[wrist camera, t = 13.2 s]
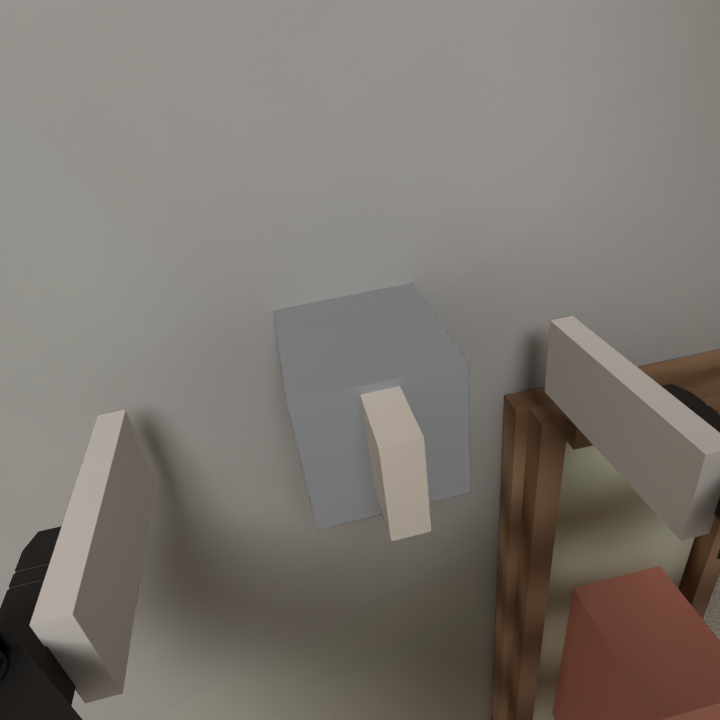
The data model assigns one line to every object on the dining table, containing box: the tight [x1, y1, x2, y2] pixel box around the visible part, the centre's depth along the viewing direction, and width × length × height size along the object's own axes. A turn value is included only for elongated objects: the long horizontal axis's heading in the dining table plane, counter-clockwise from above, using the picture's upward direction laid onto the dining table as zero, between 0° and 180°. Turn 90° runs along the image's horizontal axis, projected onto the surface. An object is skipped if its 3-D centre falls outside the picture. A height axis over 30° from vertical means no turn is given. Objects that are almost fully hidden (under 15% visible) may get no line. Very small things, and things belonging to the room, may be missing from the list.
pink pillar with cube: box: [552, 566, 720, 720], centre depth 27 cm, size 12×4×7 cm, turn 6°
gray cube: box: [273, 283, 471, 542], centre depth 16 cm, size 4×4×7 cm
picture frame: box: [492, 350, 720, 720], centre depth 27 cm, size 26×11×2 cm, turn 6°
